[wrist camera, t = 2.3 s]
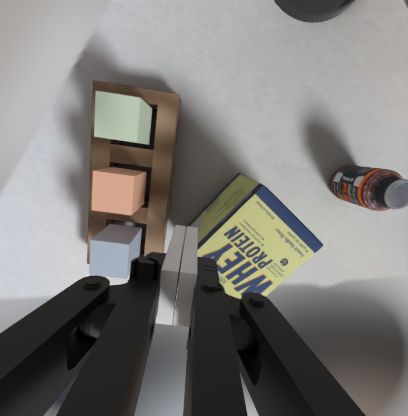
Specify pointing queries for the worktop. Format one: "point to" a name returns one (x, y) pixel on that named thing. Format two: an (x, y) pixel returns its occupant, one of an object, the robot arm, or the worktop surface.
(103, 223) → the walnut board
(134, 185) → the peach rectangular prism
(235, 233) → the protein box
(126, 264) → the slate upright cuboid
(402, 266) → the worktop surface
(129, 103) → the sage rectangular block
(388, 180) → the supplement bottle
